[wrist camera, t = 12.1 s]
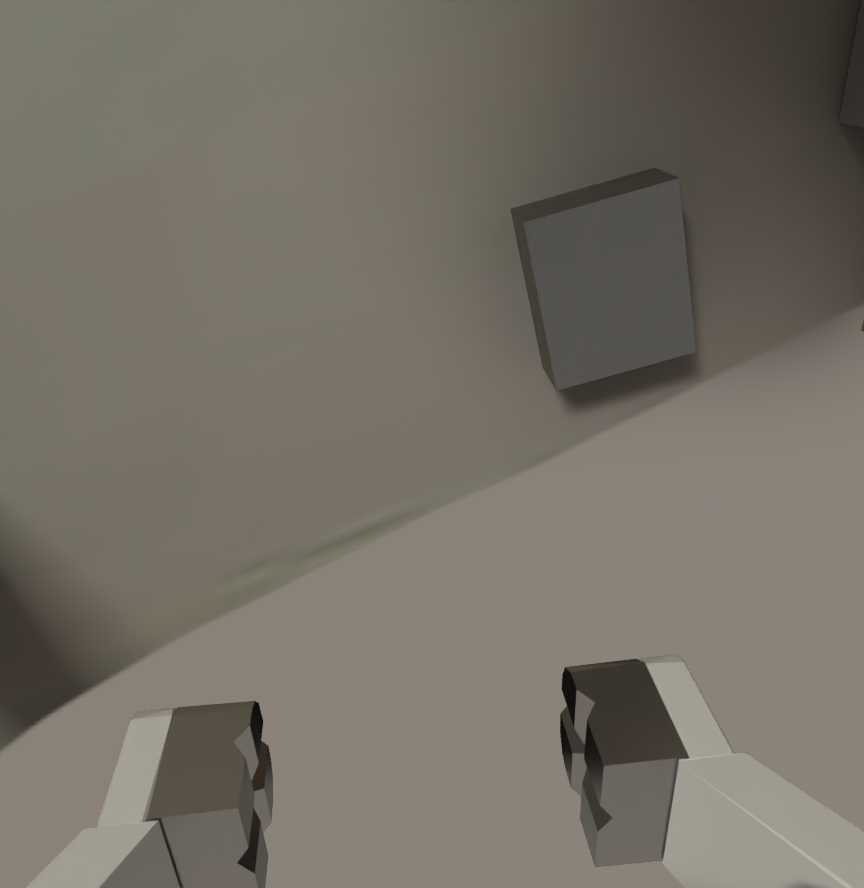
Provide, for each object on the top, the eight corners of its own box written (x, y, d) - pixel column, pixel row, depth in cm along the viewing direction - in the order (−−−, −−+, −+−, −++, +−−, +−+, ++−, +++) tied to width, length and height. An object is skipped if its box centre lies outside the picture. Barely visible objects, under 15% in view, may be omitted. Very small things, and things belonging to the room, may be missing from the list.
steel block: (508, 206, 26) (523, 222, 24) (651, 166, 26) (679, 177, 24) (540, 364, 29) (556, 390, 27) (669, 328, 29) (695, 351, 27)
